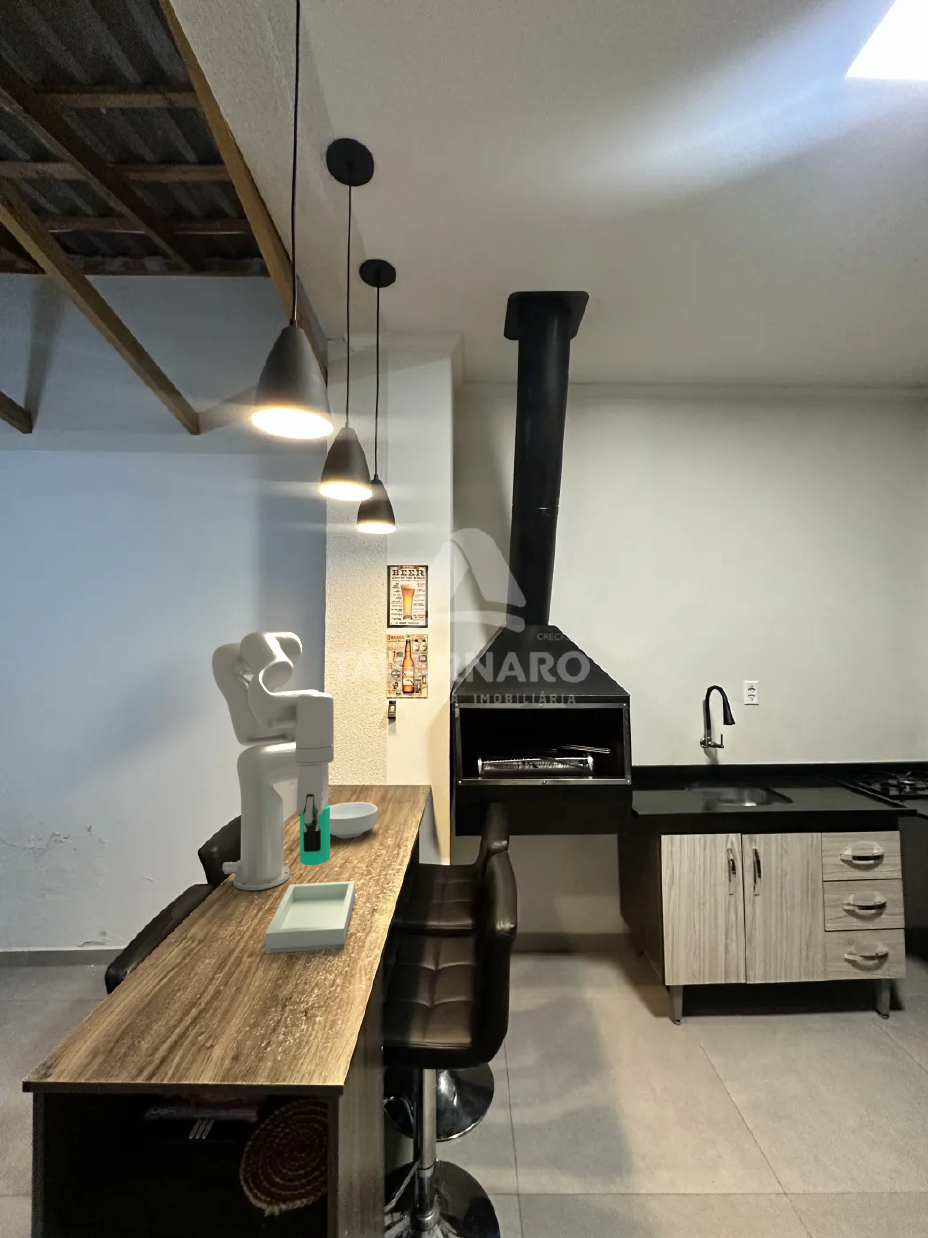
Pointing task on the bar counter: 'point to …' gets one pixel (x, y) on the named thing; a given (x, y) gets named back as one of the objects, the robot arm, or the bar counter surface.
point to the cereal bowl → (352, 819)
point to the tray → (311, 917)
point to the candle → (324, 852)
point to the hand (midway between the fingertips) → (314, 844)
